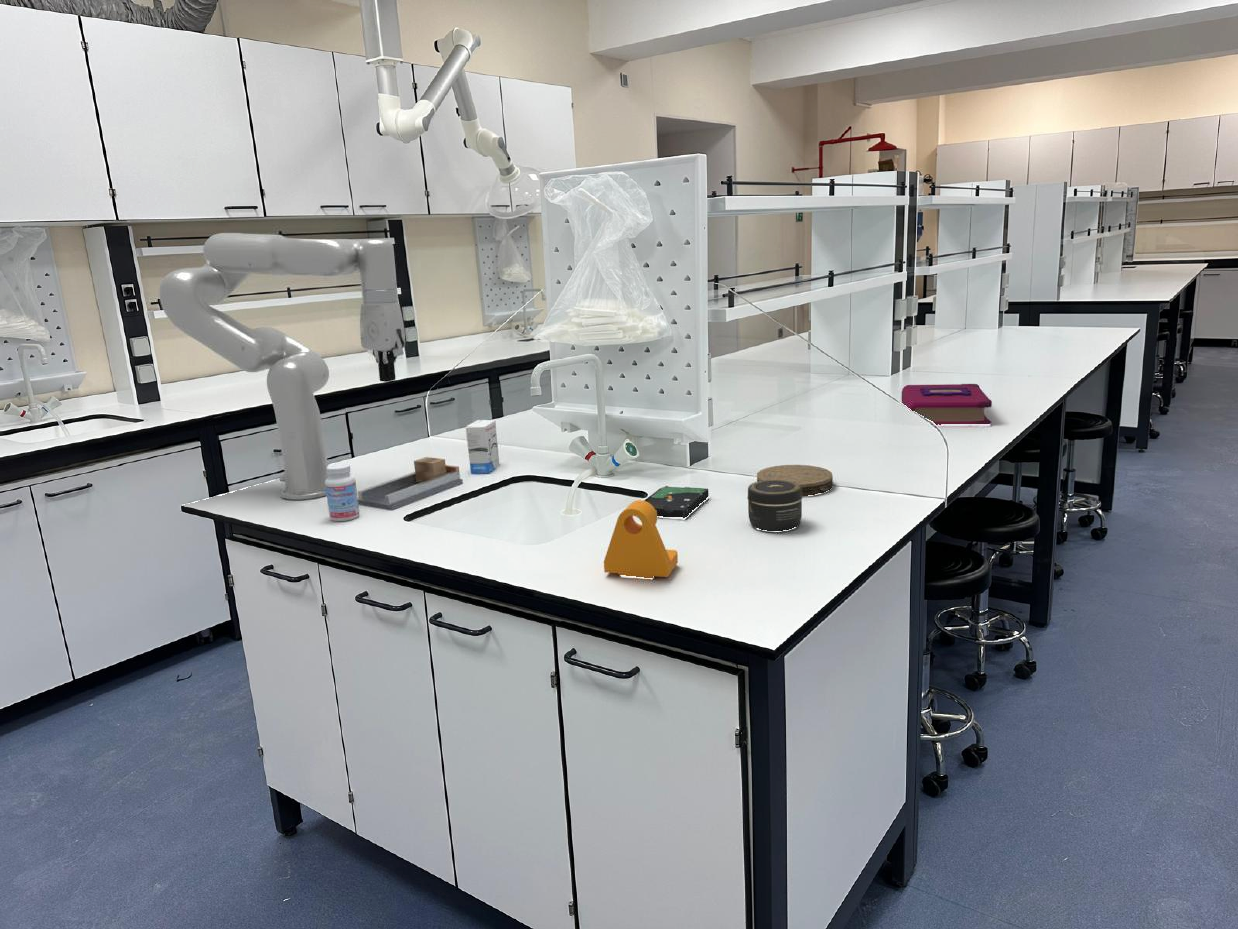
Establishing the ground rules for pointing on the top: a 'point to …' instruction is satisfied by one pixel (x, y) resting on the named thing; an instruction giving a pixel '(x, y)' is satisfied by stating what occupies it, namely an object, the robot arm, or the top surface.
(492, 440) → the ink box
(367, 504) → the chute
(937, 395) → the book
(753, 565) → the top surface
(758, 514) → the jar
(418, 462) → the block
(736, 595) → the top surface
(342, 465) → the pill bottle
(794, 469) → the cork trivet
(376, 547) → the top surface
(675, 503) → the disk drive
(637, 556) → the bracket
